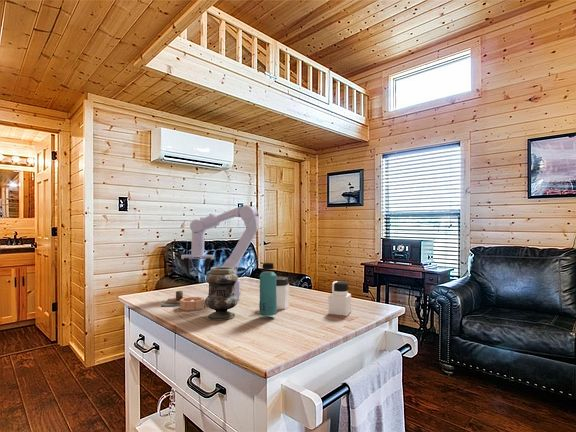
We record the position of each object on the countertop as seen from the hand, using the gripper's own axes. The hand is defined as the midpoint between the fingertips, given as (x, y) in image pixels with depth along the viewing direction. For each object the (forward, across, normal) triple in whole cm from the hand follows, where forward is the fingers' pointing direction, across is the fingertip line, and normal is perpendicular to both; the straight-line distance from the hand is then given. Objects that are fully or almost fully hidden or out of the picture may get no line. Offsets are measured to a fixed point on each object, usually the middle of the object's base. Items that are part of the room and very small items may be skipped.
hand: (197, 274), depth 154 cm
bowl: (+10, +2, -20) cm, 23 cm away
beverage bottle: (+10, +32, -37) cm, 50 cm away
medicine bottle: (+10, +60, -33) cm, 69 cm away
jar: (+10, +36, -22) cm, 44 cm away
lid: (+10, -6, -11) cm, 16 cm away
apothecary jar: (+10, +14, -34) cm, 39 cm away
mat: (+10, -6, -11) cm, 16 cm away
